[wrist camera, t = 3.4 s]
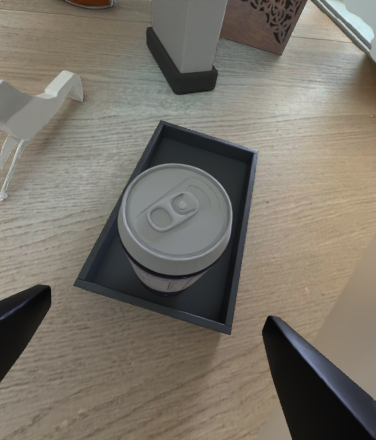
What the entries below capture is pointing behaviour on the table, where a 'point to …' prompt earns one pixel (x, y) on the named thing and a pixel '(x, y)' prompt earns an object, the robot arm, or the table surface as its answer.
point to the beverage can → (173, 226)
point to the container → (186, 41)
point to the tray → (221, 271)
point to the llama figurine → (31, 115)
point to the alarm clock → (92, 3)
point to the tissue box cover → (261, 22)
